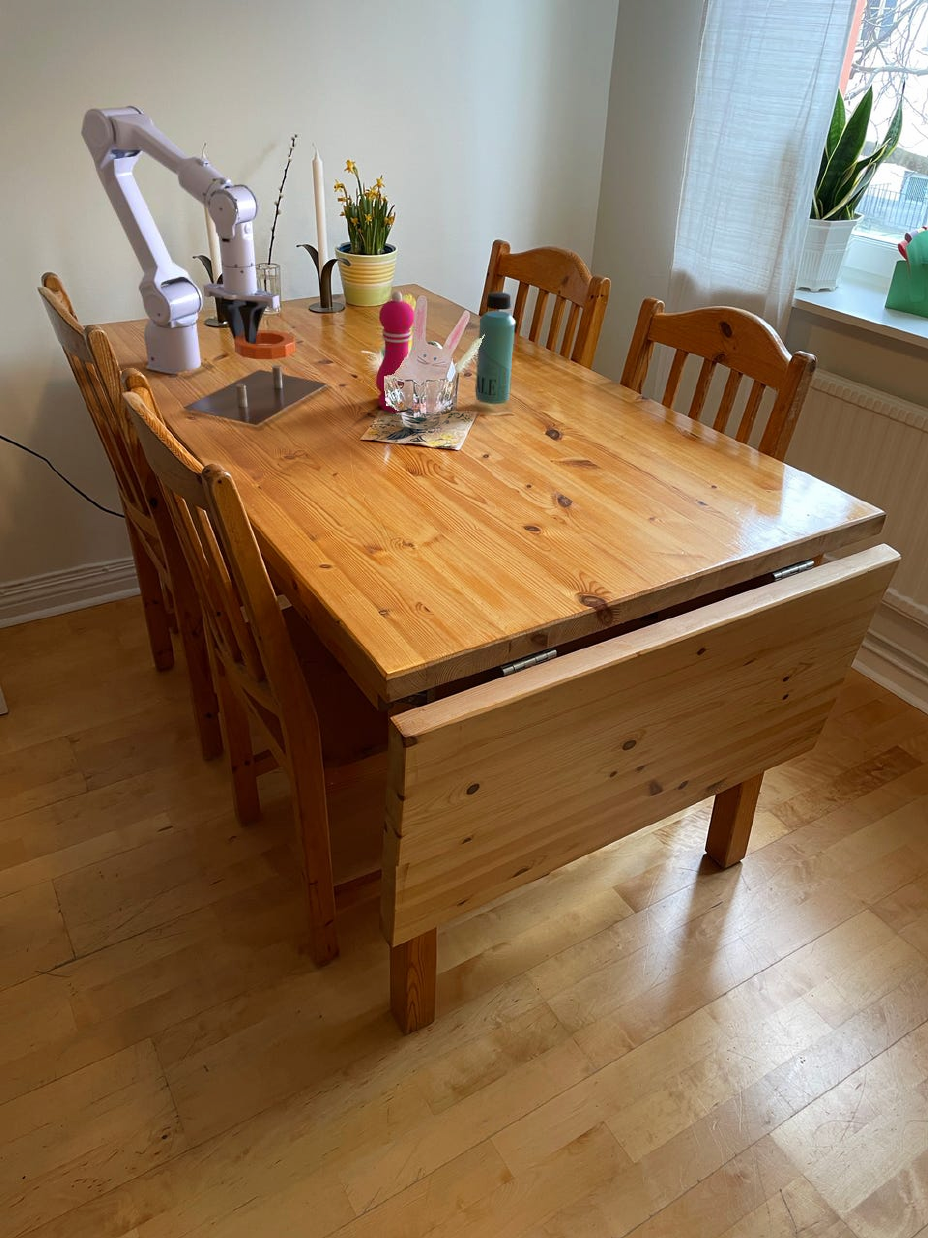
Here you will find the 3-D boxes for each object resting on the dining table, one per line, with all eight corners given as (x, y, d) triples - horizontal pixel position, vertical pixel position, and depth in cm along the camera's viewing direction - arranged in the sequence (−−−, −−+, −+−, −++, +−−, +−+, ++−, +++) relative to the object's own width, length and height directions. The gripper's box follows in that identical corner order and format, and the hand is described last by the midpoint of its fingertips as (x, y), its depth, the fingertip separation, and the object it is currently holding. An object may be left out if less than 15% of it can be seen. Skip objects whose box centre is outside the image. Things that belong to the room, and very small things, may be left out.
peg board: (183, 412, 153) (180, 386, 151) (260, 373, 171) (258, 350, 168) (257, 429, 149) (254, 403, 146) (328, 387, 166) (327, 364, 164)
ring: (223, 352, 158) (222, 341, 156) (257, 337, 166) (256, 326, 164) (273, 362, 154) (272, 351, 153) (305, 347, 162) (305, 336, 161)
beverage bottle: (510, 400, 165) (519, 289, 154) (508, 414, 160) (517, 300, 149) (475, 397, 166) (482, 286, 154) (472, 410, 160) (478, 296, 149)
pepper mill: (410, 415, 157) (412, 299, 146) (371, 410, 158) (370, 294, 147) (420, 401, 163) (423, 288, 152) (382, 396, 164) (382, 284, 153)
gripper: (189, 262, 152) (198, 341, 160) (260, 274, 148) (266, 355, 156) (214, 254, 158) (222, 331, 165) (284, 266, 153) (288, 344, 161)
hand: (245, 342), depth 161 cm, fingers closed on ring, 2 cm apart
